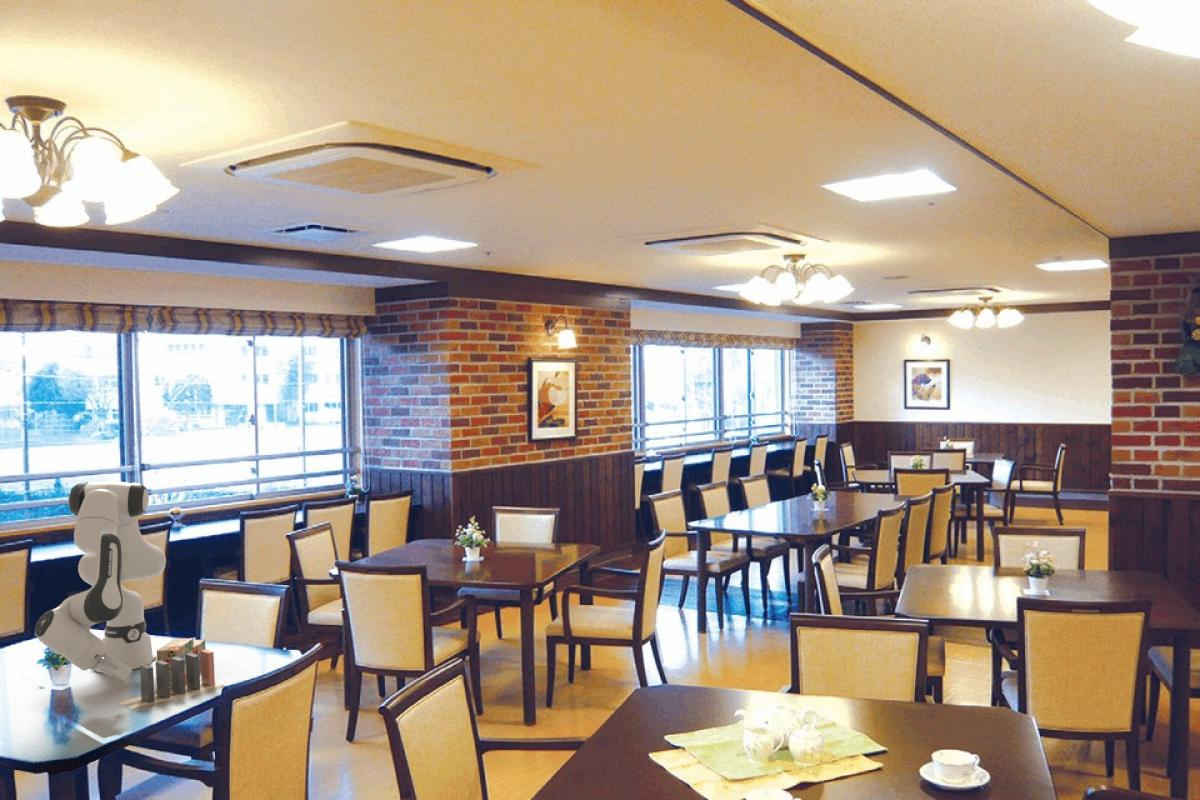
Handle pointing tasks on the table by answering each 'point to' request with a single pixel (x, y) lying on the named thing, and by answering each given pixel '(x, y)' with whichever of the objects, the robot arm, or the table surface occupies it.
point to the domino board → (139, 704)
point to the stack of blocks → (180, 652)
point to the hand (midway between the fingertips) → (127, 679)
